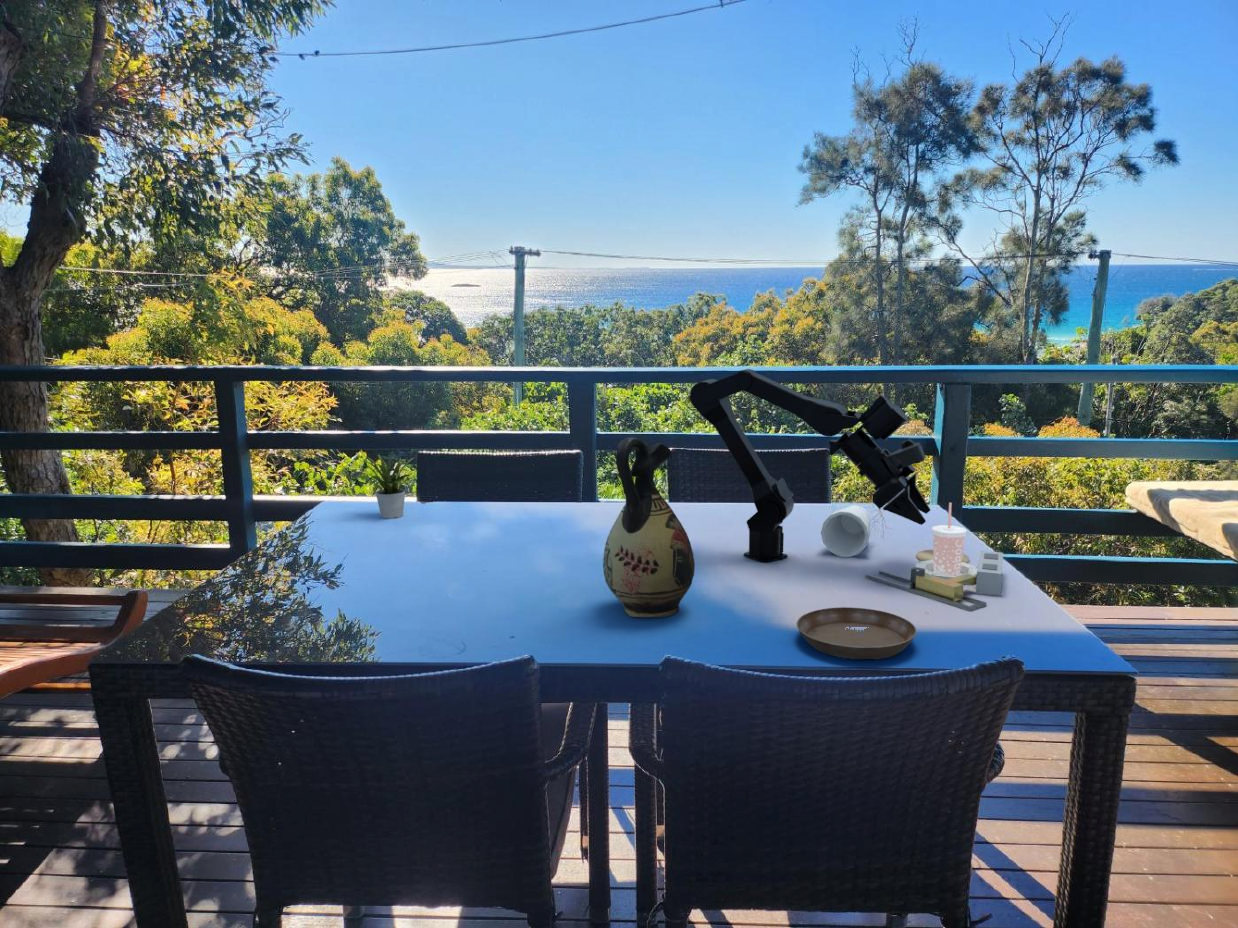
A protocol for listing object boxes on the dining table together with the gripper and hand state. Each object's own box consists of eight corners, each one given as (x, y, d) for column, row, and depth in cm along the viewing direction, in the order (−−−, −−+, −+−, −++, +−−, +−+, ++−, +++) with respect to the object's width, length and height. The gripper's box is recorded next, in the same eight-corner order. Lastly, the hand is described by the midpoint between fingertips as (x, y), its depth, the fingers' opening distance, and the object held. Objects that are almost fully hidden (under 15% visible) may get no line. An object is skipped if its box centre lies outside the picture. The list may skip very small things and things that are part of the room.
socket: (910, 586, 164) (911, 564, 163) (918, 564, 177) (919, 543, 176) (1000, 595, 158) (1001, 573, 157) (1001, 572, 171) (1003, 551, 170)
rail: (969, 611, 151) (970, 607, 151) (865, 577, 169) (865, 574, 169) (986, 605, 153) (986, 602, 153) (881, 573, 172) (881, 570, 172)
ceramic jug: (640, 589, 165) (639, 426, 159) (712, 606, 155) (712, 433, 149) (578, 615, 152) (574, 439, 146) (651, 636, 142) (650, 447, 136)
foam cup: (870, 546, 193) (861, 563, 182) (828, 533, 197) (816, 549, 185) (882, 505, 191) (873, 519, 179) (839, 492, 194) (827, 505, 182)
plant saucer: (774, 632, 143) (774, 614, 143) (868, 617, 149) (868, 599, 149) (839, 674, 127) (840, 654, 126) (941, 655, 133) (942, 636, 133)
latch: (953, 601, 154) (954, 582, 154) (907, 587, 163) (908, 568, 162) (983, 592, 159) (984, 574, 158) (936, 578, 167) (937, 561, 166)
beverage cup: (942, 581, 166) (946, 507, 164) (922, 572, 172) (926, 500, 169) (970, 578, 168) (975, 505, 165) (950, 569, 174) (954, 498, 171)
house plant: (345, 521, 218) (340, 454, 215) (376, 508, 231) (372, 445, 228) (397, 524, 214) (393, 457, 211) (426, 511, 227) (422, 447, 224)
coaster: (947, 568, 174) (947, 566, 174) (905, 556, 182) (905, 554, 182) (979, 559, 179) (979, 558, 179) (937, 548, 187) (937, 546, 187)
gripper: (893, 435, 160) (956, 500, 158) (905, 421, 177) (963, 480, 175) (847, 476, 165) (908, 540, 162) (863, 459, 182) (918, 516, 179)
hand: (926, 517), depth 169 cm, fingers open, 9 cm apart
